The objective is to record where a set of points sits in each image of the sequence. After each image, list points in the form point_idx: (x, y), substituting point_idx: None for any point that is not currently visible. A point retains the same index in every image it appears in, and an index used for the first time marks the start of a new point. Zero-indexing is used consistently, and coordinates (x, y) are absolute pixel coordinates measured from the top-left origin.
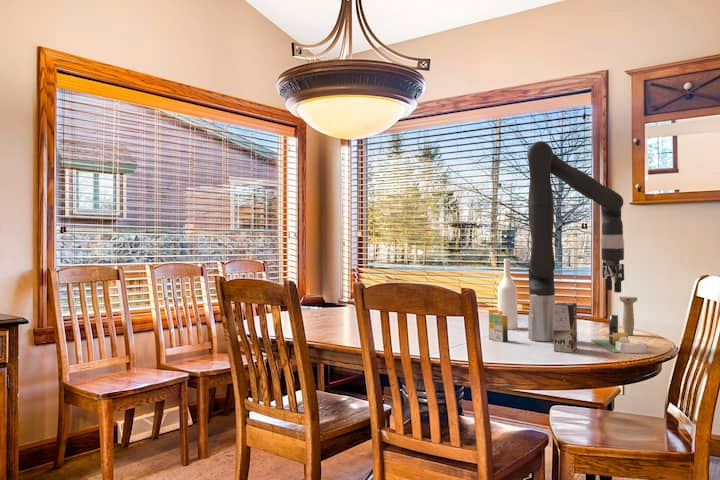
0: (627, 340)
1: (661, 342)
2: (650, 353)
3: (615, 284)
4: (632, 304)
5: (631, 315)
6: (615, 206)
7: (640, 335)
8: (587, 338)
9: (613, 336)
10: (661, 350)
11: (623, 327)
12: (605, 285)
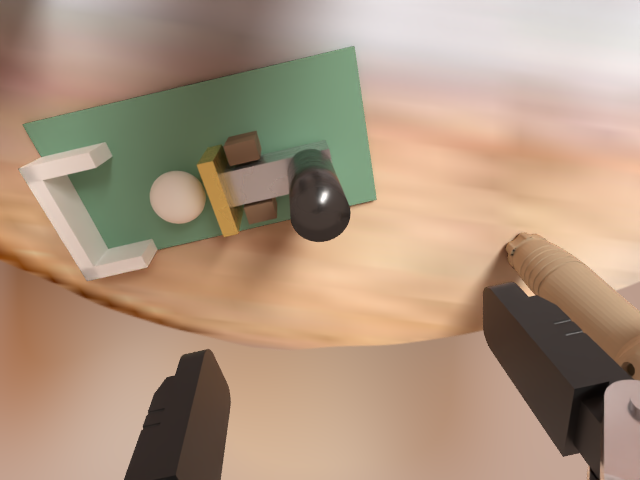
0: (157, 214)
1: (362, 331)
2: None
3: (158, 450)
4: None
5: None
6: None
7: None
8: (421, 32)
9: (201, 158)
10: (190, 311)
11: (545, 244)
12: (538, 317)
